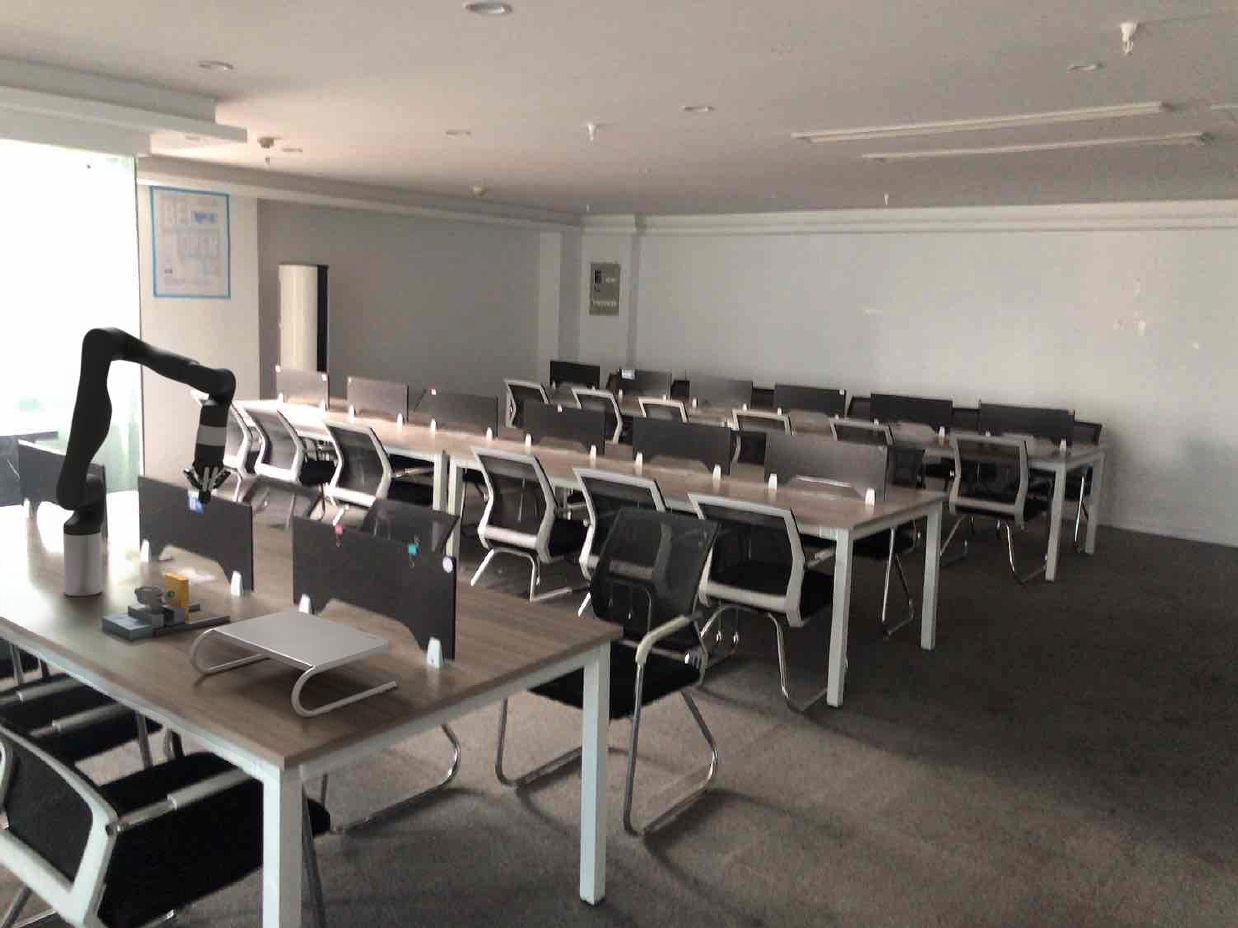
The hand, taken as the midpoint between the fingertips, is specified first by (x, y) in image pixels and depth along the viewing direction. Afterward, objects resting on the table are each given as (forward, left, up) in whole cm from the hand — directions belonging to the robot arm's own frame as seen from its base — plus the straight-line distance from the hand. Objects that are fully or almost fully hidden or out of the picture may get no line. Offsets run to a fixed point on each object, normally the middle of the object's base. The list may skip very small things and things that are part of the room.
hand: (203, 503), depth 270 cm
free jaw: (+10, -15, -28) cm, 33 cm away
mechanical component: (+10, -18, -28) cm, 35 cm away
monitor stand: (+66, -17, -29) cm, 74 cm away
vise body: (+10, -16, -28) cm, 34 cm away
